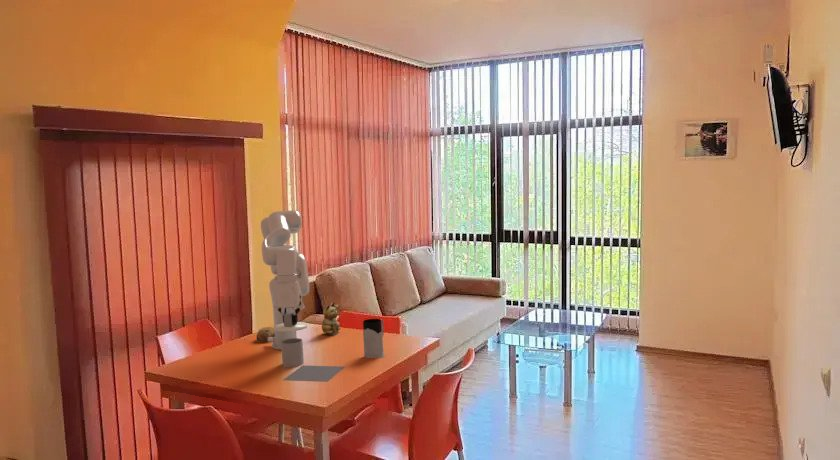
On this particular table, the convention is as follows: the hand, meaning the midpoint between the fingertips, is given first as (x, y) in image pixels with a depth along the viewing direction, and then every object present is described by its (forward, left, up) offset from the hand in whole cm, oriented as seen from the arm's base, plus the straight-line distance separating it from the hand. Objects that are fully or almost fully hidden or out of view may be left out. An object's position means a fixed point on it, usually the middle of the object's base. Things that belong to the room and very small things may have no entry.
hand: (290, 323), depth 252 cm
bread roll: (-31, +38, -17) cm, 52 cm away
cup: (0, 0, -17) cm, 17 cm away
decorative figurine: (-4, +50, -17) cm, 53 cm away
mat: (+14, -11, -17) cm, 24 cm away
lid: (0, 0, -2) cm, 2 cm away
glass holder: (+30, +17, -17) cm, 39 cm away
